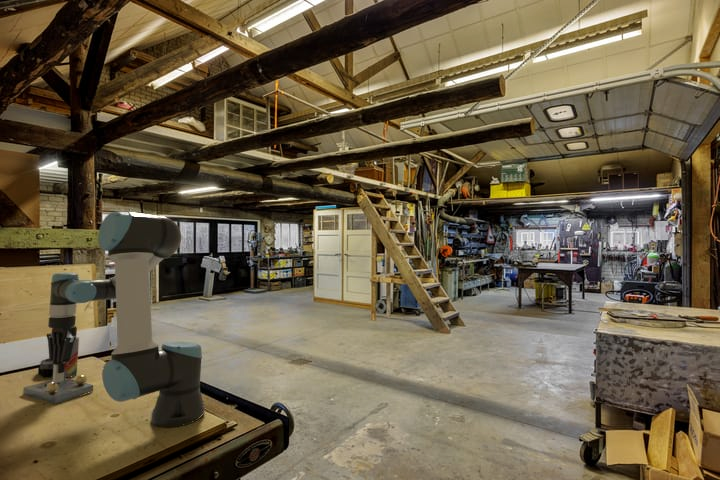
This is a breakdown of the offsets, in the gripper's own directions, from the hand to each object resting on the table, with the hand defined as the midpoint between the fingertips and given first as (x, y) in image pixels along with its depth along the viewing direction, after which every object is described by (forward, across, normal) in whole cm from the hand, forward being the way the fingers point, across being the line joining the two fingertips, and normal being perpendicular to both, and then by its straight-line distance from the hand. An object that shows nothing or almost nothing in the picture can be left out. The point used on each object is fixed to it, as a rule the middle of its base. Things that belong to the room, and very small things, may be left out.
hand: (58, 381), depth 129 cm
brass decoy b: (0, -5, +4) cm, 7 cm away
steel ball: (+2, +4, 0) cm, 4 cm away
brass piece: (0, -5, -4) cm, 7 cm away
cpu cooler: (+5, +24, -12) cm, 27 cm away
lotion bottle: (+4, +15, -12) cm, 20 cm away
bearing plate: (+4, -1, 0) cm, 4 cm away
